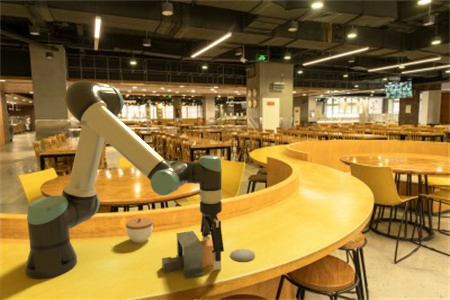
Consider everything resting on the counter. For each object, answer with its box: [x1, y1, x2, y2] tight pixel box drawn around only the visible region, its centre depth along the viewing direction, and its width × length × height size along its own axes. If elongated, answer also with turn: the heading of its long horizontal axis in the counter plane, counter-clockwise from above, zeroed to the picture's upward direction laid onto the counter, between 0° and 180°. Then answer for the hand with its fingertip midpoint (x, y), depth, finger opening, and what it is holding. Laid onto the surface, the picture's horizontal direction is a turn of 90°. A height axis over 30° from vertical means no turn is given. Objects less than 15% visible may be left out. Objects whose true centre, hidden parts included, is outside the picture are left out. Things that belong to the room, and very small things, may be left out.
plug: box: [161, 238, 214, 274], centre depth 102 cm, size 5×18×7 cm, turn 110°
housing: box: [175, 230, 205, 280], centre depth 101 cm, size 16×6×10 cm, turn 21°
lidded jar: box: [125, 217, 154, 244], centre depth 123 cm, size 11×11×9 cm
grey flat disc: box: [229, 248, 256, 263], centre depth 109 cm, size 9×9×1 cm
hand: (211, 260), depth 105 cm, fingers open, 11 cm apart
